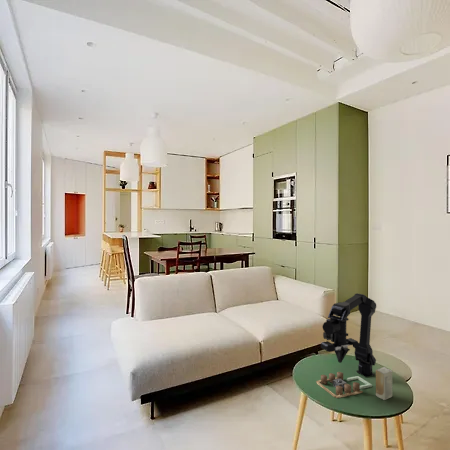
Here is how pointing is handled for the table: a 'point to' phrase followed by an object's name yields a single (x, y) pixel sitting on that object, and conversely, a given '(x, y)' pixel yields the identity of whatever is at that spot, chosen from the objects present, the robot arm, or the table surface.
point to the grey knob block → (339, 383)
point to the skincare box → (384, 383)
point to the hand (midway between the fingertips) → (339, 362)
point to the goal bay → (361, 381)
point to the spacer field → (338, 388)
